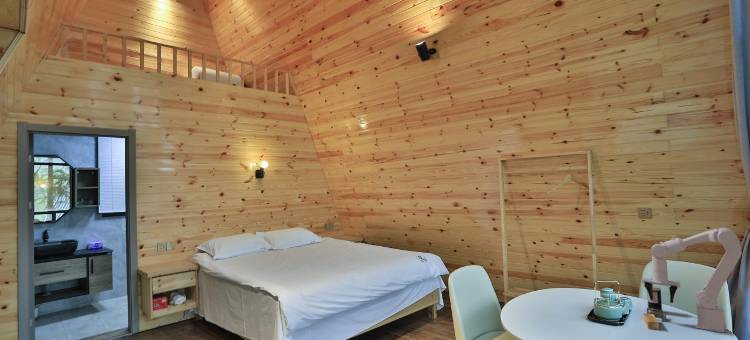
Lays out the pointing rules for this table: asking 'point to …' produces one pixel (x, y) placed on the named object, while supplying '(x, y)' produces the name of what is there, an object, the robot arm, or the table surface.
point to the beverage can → (655, 299)
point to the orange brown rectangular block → (650, 321)
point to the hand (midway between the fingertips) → (661, 300)
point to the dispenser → (657, 314)
